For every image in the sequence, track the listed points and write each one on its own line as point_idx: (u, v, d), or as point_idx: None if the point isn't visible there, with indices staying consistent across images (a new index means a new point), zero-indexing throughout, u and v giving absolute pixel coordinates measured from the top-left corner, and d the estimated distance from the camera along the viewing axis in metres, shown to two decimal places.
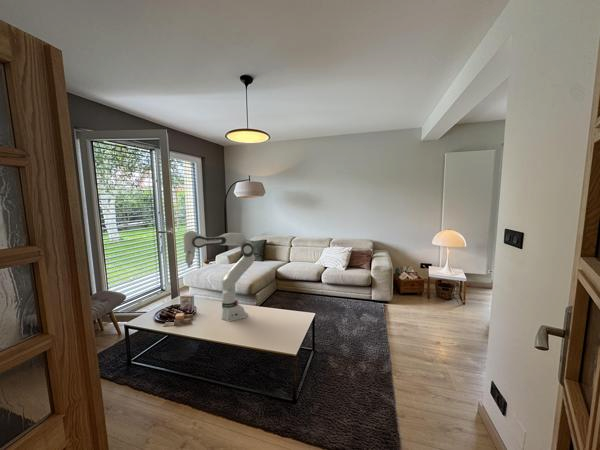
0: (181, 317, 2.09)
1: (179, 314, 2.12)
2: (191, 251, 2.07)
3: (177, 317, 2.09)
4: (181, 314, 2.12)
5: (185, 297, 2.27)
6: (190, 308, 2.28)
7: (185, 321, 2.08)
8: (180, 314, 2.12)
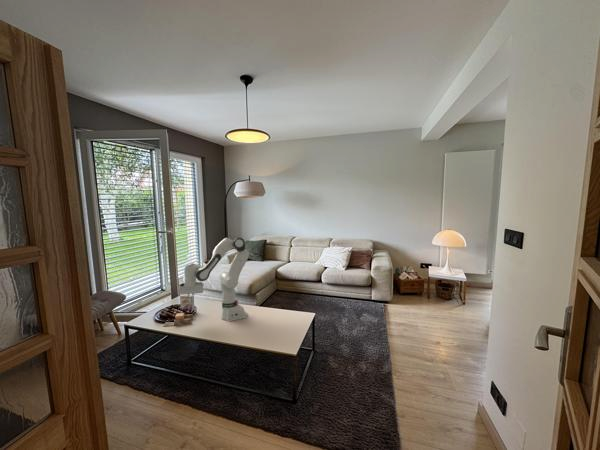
0: (181, 317, 2.09)
1: (179, 314, 2.12)
2: None
3: (177, 317, 2.09)
4: (181, 314, 2.12)
5: (185, 297, 2.27)
6: (190, 308, 2.28)
7: (185, 321, 2.08)
8: (180, 314, 2.12)
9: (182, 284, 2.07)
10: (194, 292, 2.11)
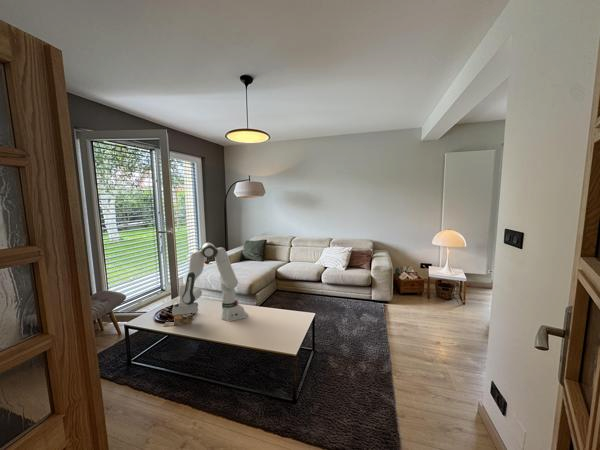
0: (180, 317, 2.09)
1: None
2: None
3: (176, 317, 2.08)
4: None
5: None
6: None
7: (185, 321, 2.08)
8: None
9: (177, 305, 2.07)
10: (189, 312, 2.12)
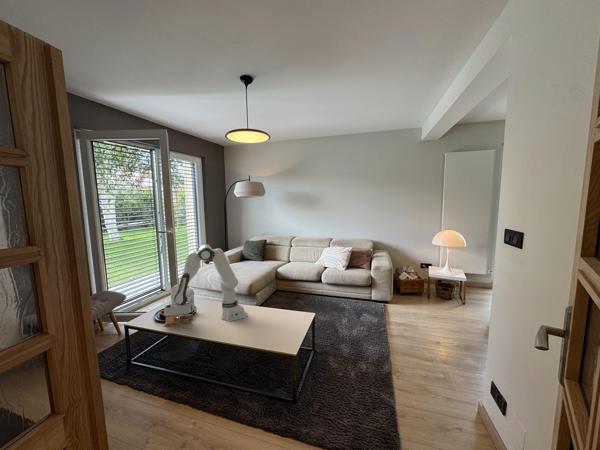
0: (172, 318, 2.08)
1: None
2: None
3: (168, 318, 2.07)
4: (172, 315, 2.10)
5: None
6: (190, 308, 2.28)
7: (185, 321, 2.08)
8: (171, 315, 2.10)
9: (168, 305, 2.06)
10: (181, 313, 2.10)
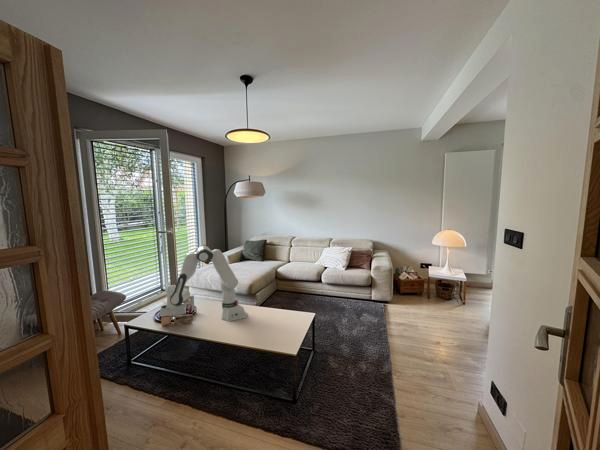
0: (167, 318, 2.07)
1: None
2: None
3: (163, 318, 2.06)
4: None
5: None
6: (190, 308, 2.28)
7: (185, 321, 2.08)
8: None
9: (164, 306, 2.05)
10: (176, 313, 2.09)
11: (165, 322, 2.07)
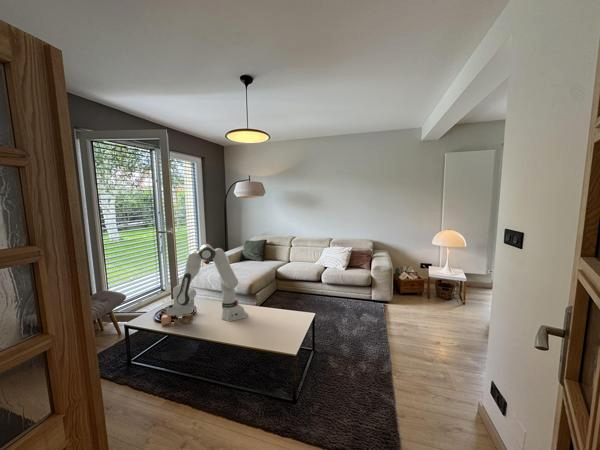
0: (167, 318, 2.07)
1: (165, 315, 2.09)
2: None
3: (163, 318, 2.06)
4: None
5: None
6: None
7: (185, 321, 2.08)
8: (166, 315, 2.09)
9: (171, 305, 2.06)
10: (183, 313, 2.11)
11: (165, 322, 2.07)
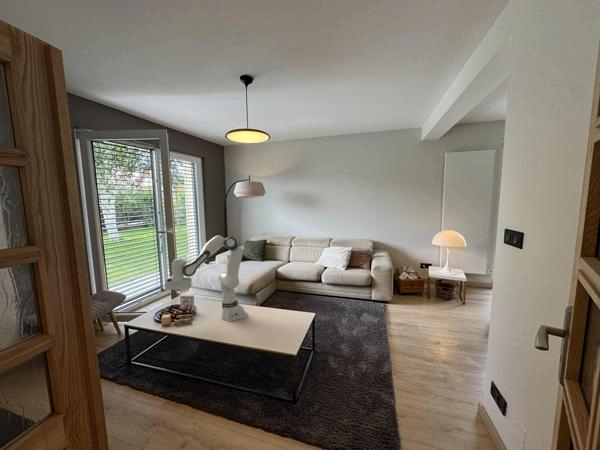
0: (167, 318, 2.07)
1: (165, 315, 2.09)
2: None
3: (163, 318, 2.06)
4: (167, 315, 2.09)
5: (185, 297, 2.27)
6: (190, 308, 2.28)
7: (185, 321, 2.08)
8: (166, 315, 2.09)
9: (169, 279, 2.04)
10: (182, 287, 2.08)
11: (165, 322, 2.07)
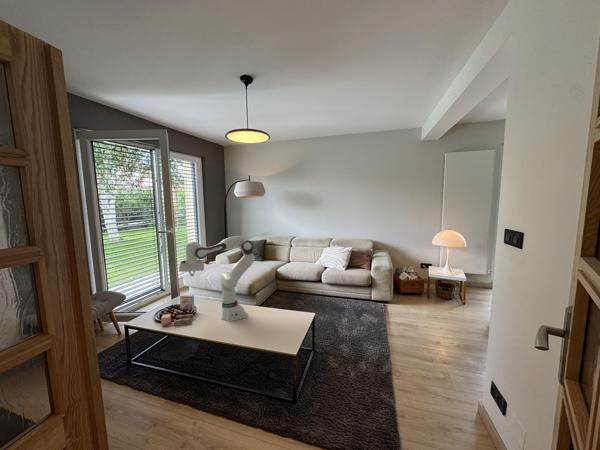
0: (167, 318, 2.07)
1: (165, 315, 2.09)
2: None
3: (163, 318, 2.06)
4: (167, 315, 2.09)
5: (185, 297, 2.27)
6: (190, 308, 2.28)
7: (185, 321, 2.08)
8: (166, 315, 2.09)
9: (183, 261, 2.14)
10: (195, 269, 2.18)
11: (165, 322, 2.07)
